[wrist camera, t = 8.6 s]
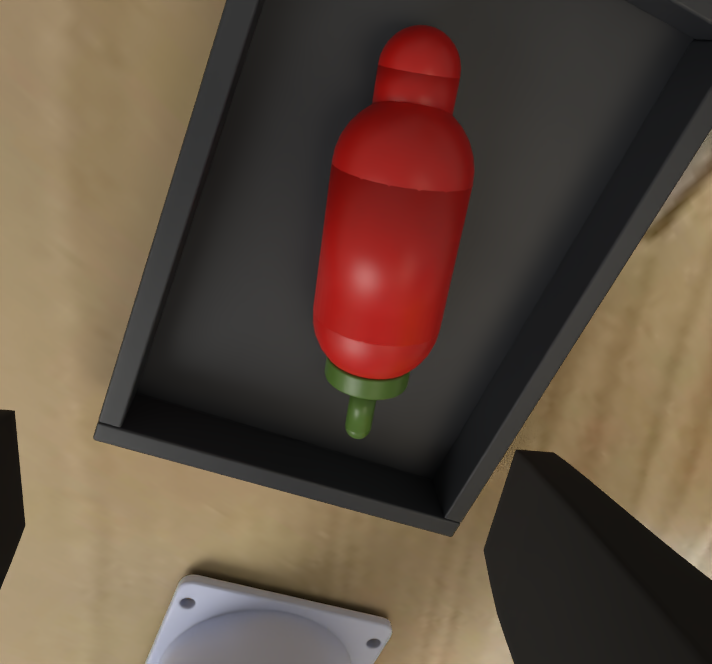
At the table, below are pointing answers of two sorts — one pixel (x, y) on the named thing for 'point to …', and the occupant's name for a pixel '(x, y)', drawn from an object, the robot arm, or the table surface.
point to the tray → (475, 253)
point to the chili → (393, 224)
